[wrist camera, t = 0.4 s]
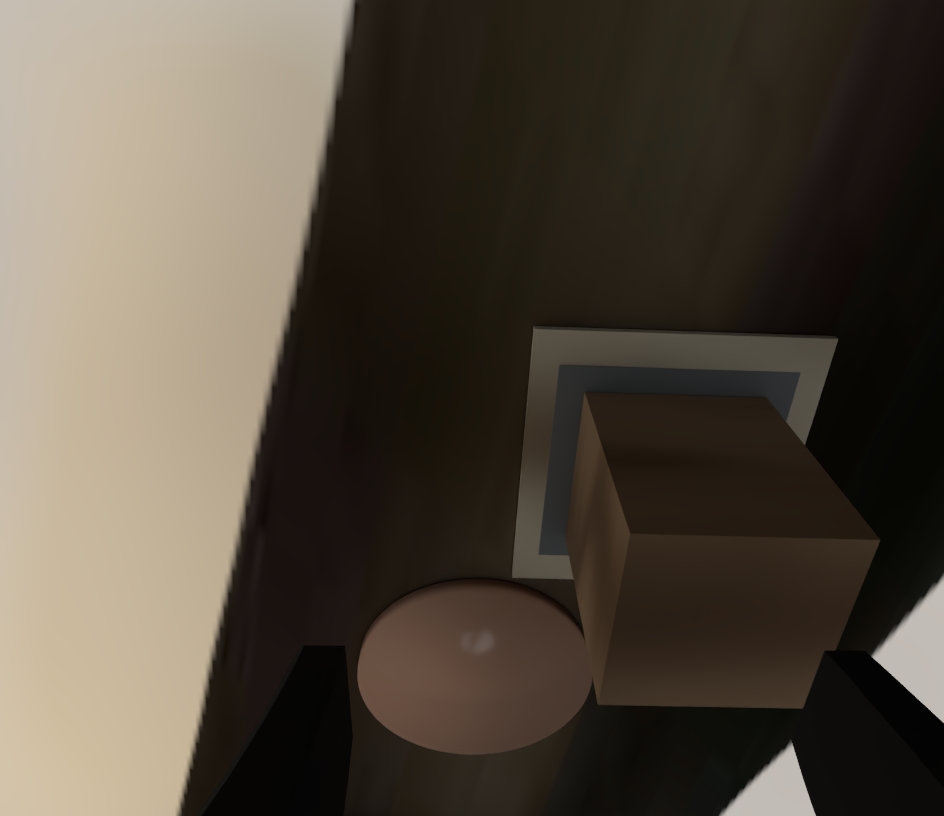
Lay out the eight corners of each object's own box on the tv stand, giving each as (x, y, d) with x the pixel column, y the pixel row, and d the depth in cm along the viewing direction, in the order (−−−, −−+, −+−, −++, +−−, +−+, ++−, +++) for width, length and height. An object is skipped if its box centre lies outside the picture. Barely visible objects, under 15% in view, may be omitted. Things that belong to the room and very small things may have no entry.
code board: (758, 579, 23) (762, 585, 23) (511, 573, 23) (512, 579, 22) (834, 335, 19) (839, 340, 18) (533, 326, 18) (534, 330, 18)
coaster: (576, 741, 27) (578, 756, 26) (363, 738, 26) (361, 753, 26) (604, 581, 23) (607, 594, 22) (354, 575, 23) (352, 589, 22)
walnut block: (727, 540, 22) (811, 708, 16) (565, 537, 22) (598, 704, 16) (766, 397, 19) (880, 540, 14) (584, 392, 19) (630, 533, 14)
